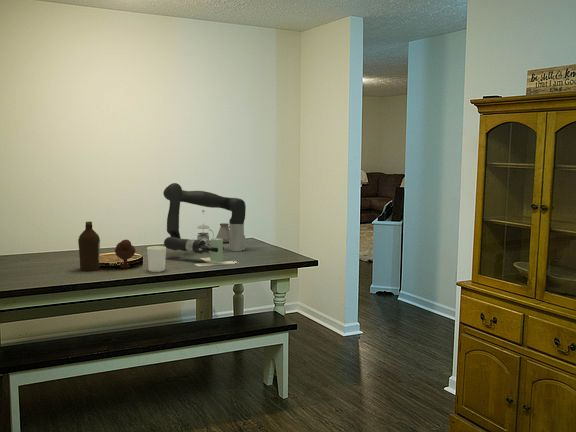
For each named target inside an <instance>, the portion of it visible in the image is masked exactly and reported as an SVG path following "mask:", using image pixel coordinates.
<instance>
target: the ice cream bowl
mask: <svg viewBox="0 0 576 432" xmlns="http://www.w3.org/2000/svg"><path fill="white" fill-rule="evenodd" d="M114 253H115V255H116V256H117V257H118V258H119V259H121V260H122V261H123V264H120V265H119V268H122V269H127V268H131V265H130V264H128V260H129V259H131V258H132V257H133V256H135V254H136V248H135V246H134V245H132V242H131V241H130V239H122V240H121V241H120V242H118V243H117V244H116V246H115V248H114Z"/></svg>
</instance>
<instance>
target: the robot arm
mask: <svg viewBox="0 0 576 432" xmlns="http://www.w3.org/2000/svg"><path fill="white" fill-rule="evenodd" d="M162 195H163V196H164V198H165V199H166V200H167V201H169V207H168V212H167V217H166V232H167V234H169V236H168V237H166V238H165V239H164V241H163V245H164V247H166V249H168V250H172V251H178V250H179V251H183V252H188V253H191V254H192V253H194V254H199V255H200V254H204V253H210V252H218V248H214V247H210V243H209V244H207V245H206V242H204V241H203V239H202V240H197V239H193V238H192V239H188V238H182V237H181V233H180V208H181V203H186V204H191V205H196V206H200V207H205V208H211V209H212V208H213V209H215V208H217V209H222V210H226V211H230V212H231V217H230V218H229V223H228V224H229V225H228V227H229V243H228V245H229V246H228V250H229V251H230V250H231V251H232V252H243V251H245V250H246V235H245V219H246V202H245V200H243V199H242V198H239V197H238V198H237V197H226V196H222V195H218V194H216V193H213V192H209V191H205V190H183V188H182V186H181V185H180V184H179V183H176V182H173V183H170V184H169V185H168V186H166V187H165V188H164V190H163V193H162ZM224 250H225V247H224V246H223V251H224ZM242 250H243V251H242ZM231 251H230V252H231Z"/></svg>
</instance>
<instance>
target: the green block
mask: <svg viewBox="0 0 576 432" xmlns="http://www.w3.org/2000/svg"><path fill="white" fill-rule="evenodd" d="M210 240H211V241H210V242H209V244H210V247H214V248H218V252H209V255H210V256H209V258H210V261H217V262H218V261H220V262H223V260H224V250H223V247H224V243H223V239H218V238H216V237H215V238H214V237H213V239H212V238H210Z"/></svg>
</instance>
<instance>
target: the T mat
mask: <svg viewBox="0 0 576 432" xmlns="http://www.w3.org/2000/svg"><path fill="white" fill-rule="evenodd" d="M199 259H200V260H203V261H204V262H201V263H194V265H195V266H196V267H209V266H223V265H233V264H234V265H235V263H237V262H238V261H236V260H228V261H227V260H226V261H218V262H217V261H210V257H202V258H201V257H199ZM233 261H234V262H233ZM237 264H238V263H237Z"/></svg>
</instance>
